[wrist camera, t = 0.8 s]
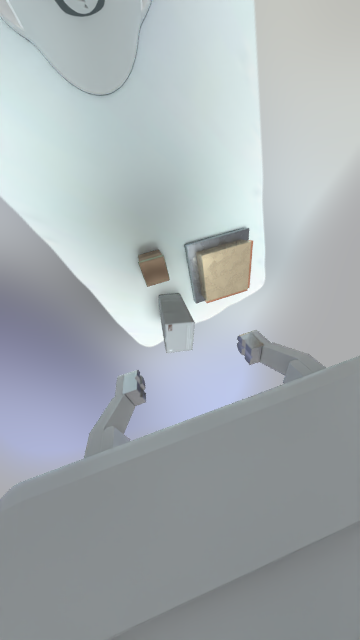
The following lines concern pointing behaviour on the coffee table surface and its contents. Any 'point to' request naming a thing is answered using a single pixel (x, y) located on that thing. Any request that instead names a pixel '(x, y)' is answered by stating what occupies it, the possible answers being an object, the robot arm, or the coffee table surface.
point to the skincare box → (176, 323)
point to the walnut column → (153, 267)
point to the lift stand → (220, 265)
